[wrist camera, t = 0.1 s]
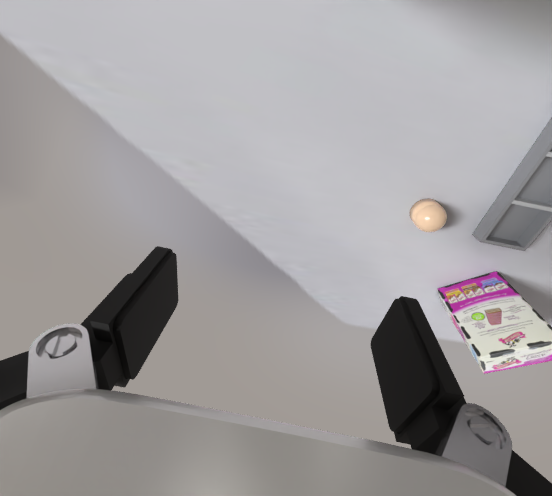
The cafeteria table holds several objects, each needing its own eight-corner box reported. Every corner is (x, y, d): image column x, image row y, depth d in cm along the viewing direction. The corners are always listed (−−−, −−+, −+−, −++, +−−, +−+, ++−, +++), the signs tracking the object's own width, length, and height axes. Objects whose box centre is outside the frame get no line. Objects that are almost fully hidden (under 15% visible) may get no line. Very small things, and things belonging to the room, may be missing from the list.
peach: (417, 195, 45) (428, 208, 41) (444, 201, 45) (458, 214, 41) (405, 220, 48) (414, 234, 44) (430, 225, 48) (442, 240, 44)
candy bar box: (441, 304, 57) (482, 375, 44) (435, 288, 55) (477, 358, 42) (501, 287, 54) (567, 360, 40) (497, 269, 51) (566, 340, 38)
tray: (570, 89, 35) (587, 90, 33) (628, 102, 35) (649, 103, 33) (472, 234, 48) (479, 241, 46) (515, 243, 48) (525, 251, 46)
